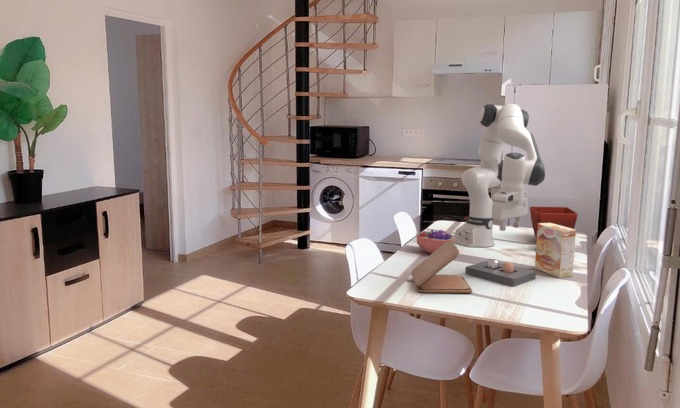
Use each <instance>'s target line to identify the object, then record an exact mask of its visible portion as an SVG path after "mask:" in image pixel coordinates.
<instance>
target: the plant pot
mask: <svg viewBox="0 0 680 408" xmlns="http://www.w3.org/2000/svg"><path fill="white" fill-rule="evenodd" d="M529 213H530V219H531V225H532V230H533V232H534V233H533V234H534V237H535V240H537V228H538V223H553V224H557V225H561V226H564V227H568V228H571V229H575V227H576V225H577V224H576V223H577V220H578V213H577V212H576V211H574V210H573V209H571V208H570V207H566V206H529Z"/></svg>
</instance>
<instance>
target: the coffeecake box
mask: <svg viewBox="0 0 680 408" xmlns="http://www.w3.org/2000/svg"><path fill="white" fill-rule="evenodd" d="M576 233H577V229H575V228H574V229H571V228H568V227H564V226H561V225H557V224H553V223H538V228H537V239H536V241H535V242H536V246H535V257H534V258H535V259H534V269H536V270H538V271H541V272H544V273H546V274H548V275H551V276H554V277H556V278H560V279H561V278H569V277H573V273H574V261H575V246H576Z"/></svg>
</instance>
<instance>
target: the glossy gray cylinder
mask: <svg viewBox="0 0 680 408" xmlns="http://www.w3.org/2000/svg"><path fill="white" fill-rule="evenodd" d="M487 260H488V268H489V269H493V270H496V269H498V263H499V259H496V258H489V259H487Z"/></svg>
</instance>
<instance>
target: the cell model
mask: <svg viewBox="0 0 680 408" xmlns="http://www.w3.org/2000/svg"><path fill="white" fill-rule="evenodd" d="M415 235H416V244H417V245H418V247H419V248H420V249H421V250H422V251H425V252H427V253H429V254H432V253H433V252H434V251H436V250H437V249H438V248H439V247H440V246H442V245H443V244H444V243H445V242H447V241H451V242H452V243H453V244H454V239H455V237H456V236H454V235H455V234H454V235H453V234H452V233H449V232H446V231H445V230H442V229H439V230H438V231H434V229H431V230H430V231H426V230H424V231H421V232H417V233H415Z"/></svg>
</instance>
